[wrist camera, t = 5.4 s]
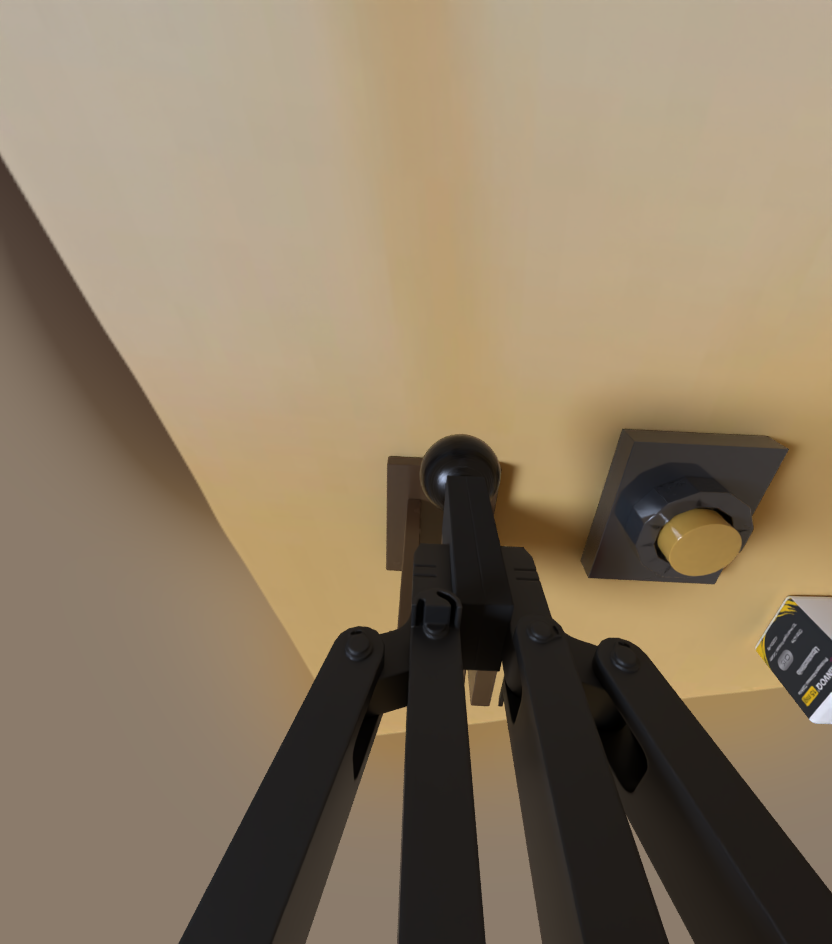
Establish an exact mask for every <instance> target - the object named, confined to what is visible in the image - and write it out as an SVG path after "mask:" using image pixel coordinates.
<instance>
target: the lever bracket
mask: <svg viewBox="0 0 832 944" xmlns="http://www.w3.org/2000/svg"><path fill="white" fill-rule="evenodd" d="M422 460H423V458H413V457H393V456H389V457H388V463H387V547H386V569H387V570H394V571H402V576H401V589H400V602H399V615H398V628H400V627H401V626H403V625H404V624H405V623H406V622H407V621H408V619H409V617H410V615H411V603H412V581H413V562H414V552H415V551H416V549H417V548H418V546H419V545H420V543H428V544H441V541H442V524H443V513H444V511H442V510H440V509H438V508H437V507H435V506H434V505H433V504H432V503H431V502H430V501H429V500H428V498H427V497H426V495H425V494H424V492H423V489H422V487H421V483H420V466H421V462H422ZM499 465H500V464H499ZM500 469H501V467H500ZM497 493H498V491H497ZM497 493H496V494H495V496H494V498H493V499H492V500H491V501H490V502H491V506H492V511H493V515H494V511H495V505H496V499H497ZM398 628H397V629H398ZM389 632H391V631H389ZM496 674H497V671H479V670H468V680H469V691H470V703H471V705H474V706H489V705H490V701H491V697H492V692H493V688H494V683H495V679H496Z"/></svg>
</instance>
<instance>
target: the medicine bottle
mask: <svg viewBox="0 0 832 944" xmlns="http://www.w3.org/2000/svg"><path fill="white" fill-rule="evenodd" d="M755 650H756V651H757V652H758V654H759V655H760V656H761V658H762V659H763V660H764V662H765V663H766V664H767V665H768V667H769V668H770V669H771V671H772V672H773V673H774V674H775V676H776V677H777V678H778V680H779V681H780V682H781V683H782V685H783V686H784V687H785V689H786V690H787V691H788V693H789V694H790V695H791V696H792V697H793V699H794V700H795V702H796V703H797V704H798V705H799V707H800V708H801V709H802V711H803V712H804V713H805V714H806V716H807V717H808V718H809V720H810V721H812V722H813V723H816V724H832V597H812V596H788V597H786V599H785V600H784V602H783V603H782V605H781V607H780V608H779V610H778V611H777V613H776V615H775V616H774V618H773V619H772V621H771V623H770V624H769V626H768V627H767V629H766V630H765V632H764V634H763V635H762V637H761V638H760V640H759V642H758V643H757V645H756V647H755Z"/></svg>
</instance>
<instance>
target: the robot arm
mask: <svg viewBox="0 0 832 944" xmlns="http://www.w3.org/2000/svg"><path fill="white" fill-rule="evenodd" d="M442 542H443V544H428V543H420V545H419V546H418V548H417V549H416V551H415V552H414V562H413V581H412V603H411V615H410V617H409V619H408V621H407V622H406V623H405V624H404V625H403V626H401V627H400V628H398V629H396V630H394V631H391V632H387V633H383V634H379V633H378V632H377V631H376V630H373V629H371V628H369V627H361V626H357V627H353V628H349V629H347V630H346V631H344V632H343V633H341V634H340V635H339V636H338V638H337V639H336V640H335V642H334V644H333V646H332V648H331V650H330V652H329V653H328V655H327V657H326V659H325V661H324V663H323V665H322V667H321V669H320V671H319V673H318V675H317V677H316V679H315V681H314V683H313V684H312V686H311V688H310V690H309V692H308V695H307V696H306V698H305V700H304V702H303V704H302V706H301V708H300V710H299V711H298V713H297V715H296V717H295V719H294V721H293V723H292V725H291V727H290V729H289V731H288V733H287V735H286V737H285V739H284V740H283V742H282V744H281V746H280V748H279V750H278V752H277V754H276V756H275V758H274V760H273V762H272V764H271V766H270V768H269V769H268V771H267V773H266V775H265V777H264V779H263V781H262V783H261V785H260V787H259V789H258V791H257V793H256V795H255V797H254V798H253V800H252V802H251V804H250V806H249V808H248V810H247V812H246V814H245V816H244V818H243V820H242V822H241V824H240V826H239V827H238V829H237V831H236V833H235V835H234V837H233V839H232V841H231V843H230V845H229V847H228V849H227V851H226V853H225V855H224V857H223V858H222V860H221V862H220V864H219V866H218V868H217V870H216V872H215V874H214V876H213V878H212V880H211V882H210V884H209V886H208V887H207V889H206V891H205V893H204V895H203V897H202V899H201V901H200V903H199V905H198V907H197V909H196V911H195V913H194V915H193V916H192V919H191V920H190V922H189V924H188V926H187V928H186V930H185V932H184V934H183V936H182V938H181V940H180V942H179V944H305V943H306V940H307V937H308V934H309V931H310V928H311V925H312V922H313V919H314V916H315V913H316V910H317V908H318V905H319V902H320V899H321V896H322V893H323V889H324V887H325V884H326V881H327V878H328V875H329V872H330V869H331V866H332V863H333V860H334V857H335V854H336V851H337V848H338V845H339V843H340V840H341V837H342V834H343V830H344V828H345V824H346V822H347V819H348V816H349V813H350V810H351V807H352V804H353V801H354V798H355V795H356V792H357V789H358V786H359V783H360V780H361V777H362V775H363V772H364V769H365V765H366V762H367V760H368V757H369V754H370V751H371V748H372V745H373V742H374V739H375V736H376V733H377V730H378V727H379V724H380V721H381V718H382V715H383V713H386V712H390V711H393V710H396V709H399V708H403V707H406V706H407V716H406V742H405V765H404V789H403V813H402V815H403V816H402V839H401V863H400V886H399V889H400V890H399V911H398V935H397V944H486V942H485V931H484V930H485V929H484V917H483V905H482V893H481V883H480V882H481V881H480V870H479V858H478V845H477V833H476V821H475V809H474V797H473V785H472V772H471V760H470V748H469V736H468V724H467V712H466V700H465V687H464V675H463V670H479V671H500V667H501V662H502V664H503V670H504V679H503V683H502V687H501V692H500V696H499V705H498V706H503V702H504V704H505V711H506V717H507V723H508V730H509V736H510V742H511V749H512V755H513V761H514V767H515V774H516V780H517V787H518V793H519V799H520V806H521V812H522V818H523V825H524V830H525V837H526V844H527V850H528V856H529V863H530V869H531V875H532V881H533V888H534V894H535V900H536V907H537V913H538V920H539V926H540V932H541V938H542V944H669V942H668V939H667V936H666V933H665V930H664V927H663V924H662V921H661V918H660V915H659V912H658V909H657V906H656V903H655V900H654V897H653V894H652V891H651V888H650V885H649V882H648V879H647V877H646V873H645V870H644V867H643V864H642V862H641V858H640V855H639V852H638V849H637V846H636V843H635V840H634V838H633V835H632V831H631V828H630V825H629V823H628V820H627V817H628V819H629V821H630V823H631V825H632V827H633V829H634V830H635V832H636V834H637V836H638V838H639V840H640V841H641V844H642V845H643V847H644V849H645V851H646V853H647V855H648V857H649V858H650V860H651V862H652V864H653V866H654V868H655V870H656V871H657V874H658V875H659V877H660V879H661V881H662V883H663V885H664V887H665V889H666V890H667V892H668V894H669V896H670V898H671V900H672V902H673V904H674V906H675V907H676V909H677V911H678V913H679V915H680V916H681V919H682V920H683V922H684V924H685V926H686V928H687V930H688V932H689V934H690V935H691V937H692V939H693V941H694V943H695V944H832V893H831V891H830V890H829V889H828V888H827V886H826V885H825V884H824V882H823V881H822V880H821V879H820V877H819V876H818V875H817V873H816V872H815V871H814V870H813V868H812V867H811V866H810V864H809V863H808V862H807V861H806V860H805V858H804V857H803V855H802V854H801V853H800V852H799V850H798V849H797V848H796V846H795V845H794V844H793V843H792V841H791V840H790V839H789V838H788V836H787V835H786V834H785V832H784V831H783V830H782V828H781V827H780V826H779V825H778V823H777V822H776V821H775V819H774V818H773V817H772V816H771V814H770V813H769V812H768V810H767V809H766V808H765V806H764V805H763V804H762V803H761V802H760V800H759V799H758V797H757V796H756V795H755V794H754V792H753V791H752V790H751V788H750V787H749V786H748V785H747V783H746V782H745V781H744V779H743V778H742V777H741V776H740V775H739V773H738V772H737V771H736V769H735V768H734V767H733V765H732V764H731V763H730V762H729V760H728V759H727V758H726V756H725V755H724V754H723V752H722V751H721V750H720V749H719V747H718V746H717V745H716V744H715V742H714V741H713V740H712V738H711V737H710V736H709V735H708V733H707V732H706V731H705V730H704V728H703V727H702V726H701V724H700V723H699V722H698V720H697V719H696V718H695V716H694V715H693V714H692V713H691V711H690V710H689V709H688V708H687V706H686V705H685V704H684V702H683V701H682V700H681V698H680V697H679V696H678V695H677V693H676V692H675V691H674V689H673V688H672V687H671V686H670V684H669V683H668V682H667V680H666V679H665V678H664V677H663V675H662V674H661V673H660V671H659V670H658V669H657V668H656V666H655V665H654V664H653V662H652V661H651V660H650V659H649V657H648V656H647V655H646V654H645V653H644V652H643V651H642V650H641V649H640V648H639V647H638V646H636V645H634V644H633V643H631V642H629V641H627V640H624V639H620V638H607V639H605V640H602V641H601V643H600V644H599V645H598V646H596V645H593V644H590V643H587V642H584V641H581V640H578V639H575V638H573V637H571V636H569V635H568V634H566V633H564V631H563V629H562V627H561V626H560V625H559V624H558V623H557V622H556V621H555V620H554V619H552V617H551V614H550V611H549V608H548V604H547V601H546V598H545V595H544V592H543V589H542V586H541V582H540V581H539V576H538V573H537V572H536V567H535V564H534V560H533V558H532V556H531V555H530V554H529V553H528V552H527V551H526V550H525V549H524V547H508V546H500V541H499V537H498V533H497V528H496V524H495V520H494V515H493V511H492V506H491V502H490V498H489V493H488V489H487V485H486V480H485V477H472V476H452V475H447V481H446V491H445V502H444V513H443V524H442ZM626 815H627V817H626Z"/></svg>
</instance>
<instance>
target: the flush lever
mask: <svg viewBox="0 0 832 944" xmlns="http://www.w3.org/2000/svg"><path fill="white" fill-rule="evenodd" d="M447 475H452V476H472V477H485V480H486V485H487V489H488V493H489V498H490V501H491V500H492V499H493V498H494V496H495V494H496V493H497V491H498V488H499V485H500V479H501V469H500V465H499V461H498V459H497V456H496V455H495V453H494V452H493V450H492V449H491V448H490V447H489V446H488V445H487V444H486V443H485V442H483V441H482V440H480V439H478V438H476V437H474V436H470V435H465V434H455V435H450V436H447V437H444V438H442V439H440V440H438V441H437V442H436V443H434V444H433V445H432V446H431V447H430V448H429V449H428V451H427V452H426V454H425V455H424V457H423V460H422V462H421V466H420V483H421V487H422V489H423V492H424V494H425V495H426V497H427V498H428V500H429V501H430V502H431V503H432V504H433V505H434V506H435V507H437V508H438V509H440V510H442V511H444V502H445V491H446V481H447ZM441 544H443V542H442V541H441ZM463 675H464V683H465V675H466V670H463Z"/></svg>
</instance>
